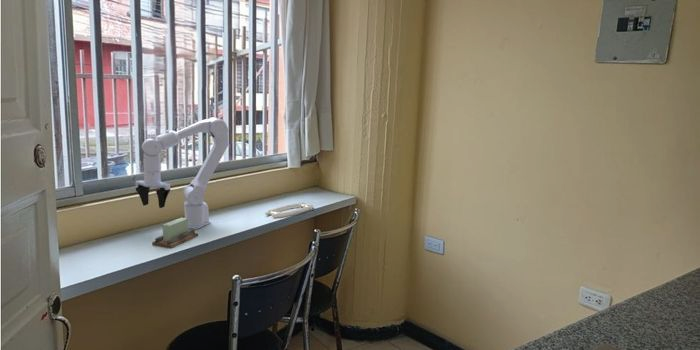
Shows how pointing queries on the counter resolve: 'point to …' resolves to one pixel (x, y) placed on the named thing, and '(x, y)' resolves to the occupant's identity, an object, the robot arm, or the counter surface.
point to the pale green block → (175, 228)
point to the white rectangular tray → (277, 214)
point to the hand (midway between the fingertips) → (153, 206)
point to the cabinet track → (175, 239)
